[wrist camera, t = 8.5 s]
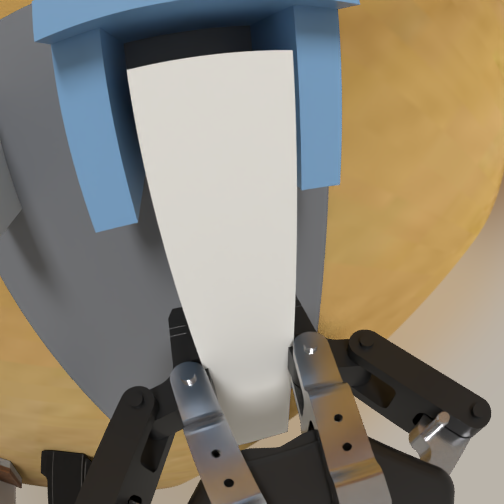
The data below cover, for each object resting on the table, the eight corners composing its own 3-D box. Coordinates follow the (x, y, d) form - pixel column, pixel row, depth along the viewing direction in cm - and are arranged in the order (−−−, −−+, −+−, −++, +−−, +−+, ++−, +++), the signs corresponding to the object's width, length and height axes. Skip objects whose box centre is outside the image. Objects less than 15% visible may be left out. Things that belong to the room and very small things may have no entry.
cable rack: (114, 418, 20) (118, 479, 16) (-58, 62, 5) (-142, 83, 1) (308, 377, 23) (335, 434, 18) (314, -34, 8) (403, -71, 3)
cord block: (218, 385, 19) (234, 446, 15) (142, 70, 8) (126, 69, 4) (265, 373, 19) (287, 431, 16) (239, 55, 9) (292, 50, 5)
